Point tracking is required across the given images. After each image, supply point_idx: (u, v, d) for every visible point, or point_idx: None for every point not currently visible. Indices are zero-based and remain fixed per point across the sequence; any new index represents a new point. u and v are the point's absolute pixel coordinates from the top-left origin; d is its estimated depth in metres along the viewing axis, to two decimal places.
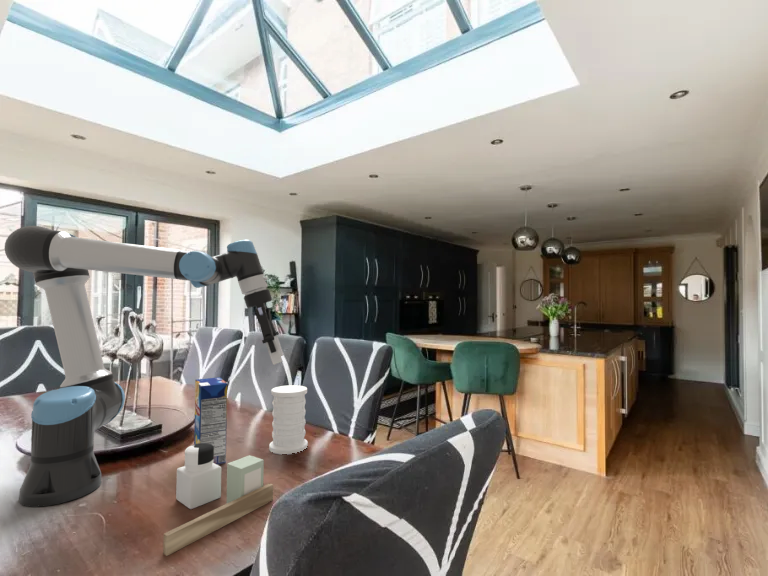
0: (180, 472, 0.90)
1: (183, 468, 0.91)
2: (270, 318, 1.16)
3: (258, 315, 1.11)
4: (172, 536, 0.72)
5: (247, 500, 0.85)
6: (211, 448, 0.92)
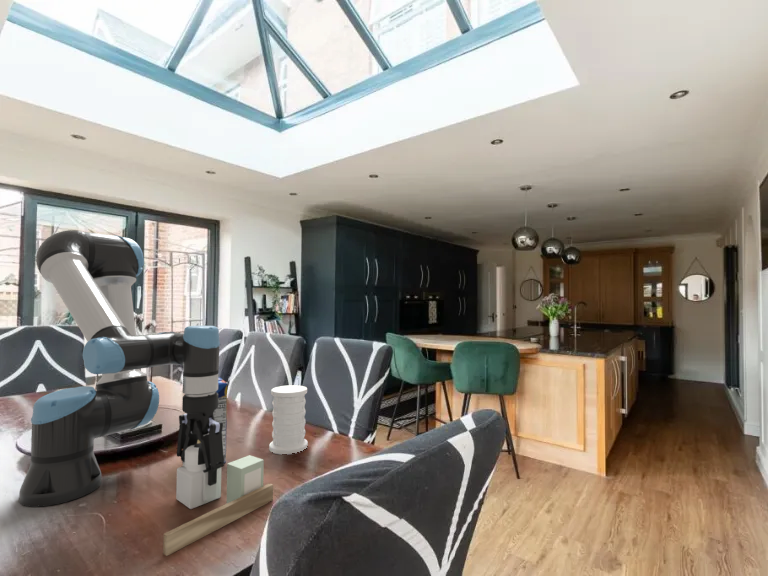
0: (180, 472, 0.90)
1: (183, 468, 0.91)
2: None
3: (213, 434, 0.88)
4: (172, 536, 0.72)
5: (247, 500, 0.85)
6: None
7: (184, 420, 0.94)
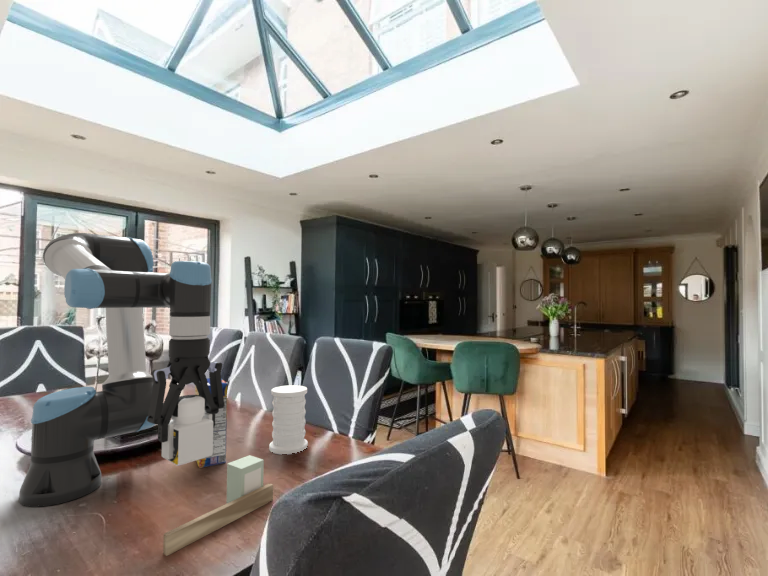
0: (189, 428, 0.78)
1: (185, 425, 0.78)
2: None
3: None
4: (172, 536, 0.72)
5: (247, 500, 0.85)
6: None
7: (165, 375, 0.77)
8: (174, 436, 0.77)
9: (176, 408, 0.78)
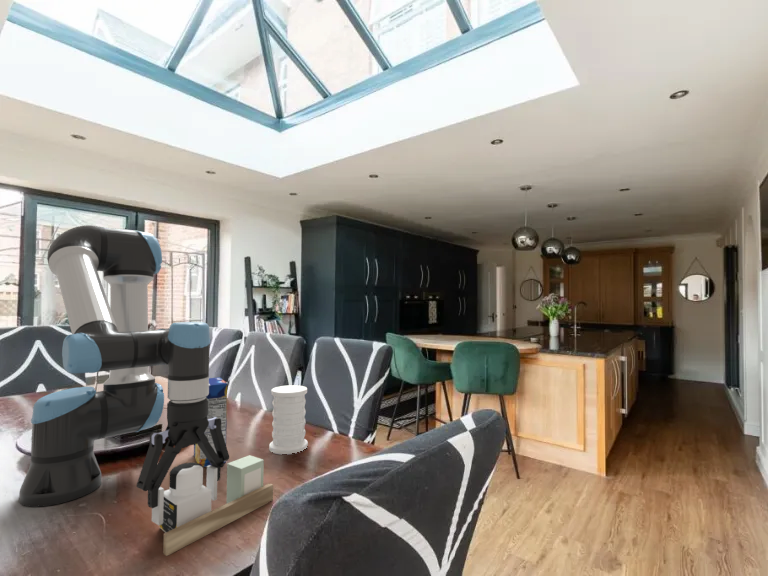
0: (187, 501, 0.77)
1: (183, 497, 0.77)
2: None
3: None
4: (172, 536, 0.72)
5: (247, 500, 0.85)
6: None
7: (162, 439, 0.76)
8: (172, 509, 0.76)
9: (174, 480, 0.78)
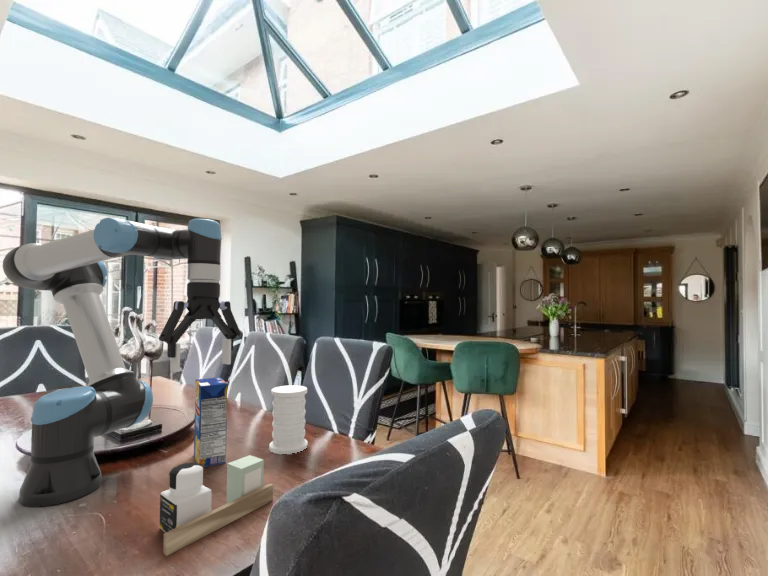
0: (187, 501, 0.77)
1: (183, 497, 0.77)
2: None
3: None
4: (172, 536, 0.72)
5: (247, 500, 0.85)
6: None
7: None
8: (172, 509, 0.76)
9: (174, 480, 0.78)
